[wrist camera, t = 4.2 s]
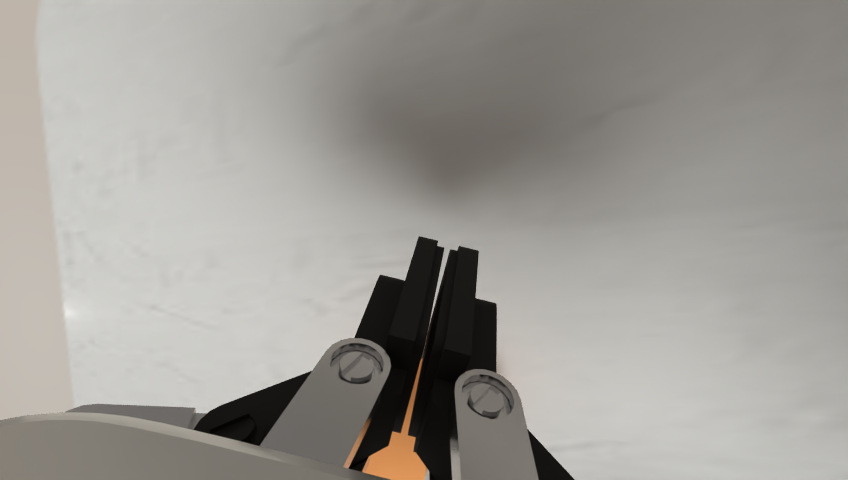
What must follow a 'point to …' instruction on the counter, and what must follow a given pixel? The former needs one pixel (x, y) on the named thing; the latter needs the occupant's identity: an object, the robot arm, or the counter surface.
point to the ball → (399, 451)
